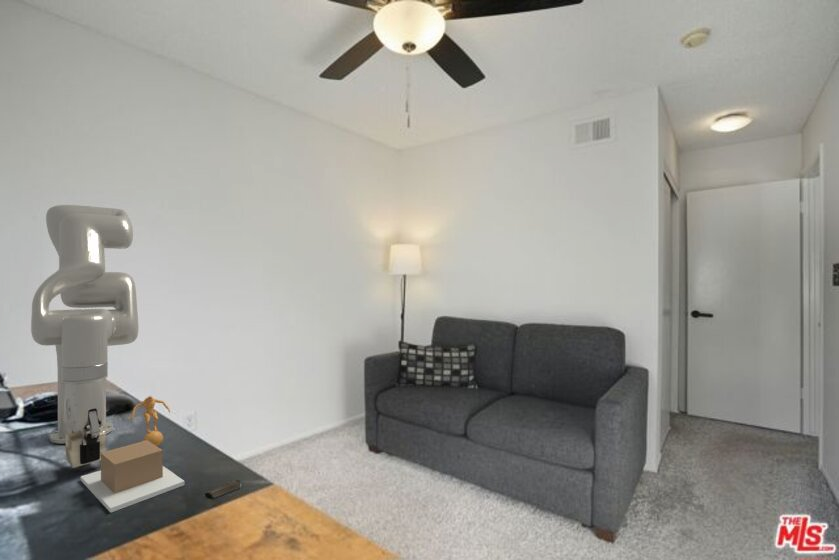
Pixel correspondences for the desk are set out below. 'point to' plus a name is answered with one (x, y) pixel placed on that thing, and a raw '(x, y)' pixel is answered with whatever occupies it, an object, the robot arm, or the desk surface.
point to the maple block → (74, 447)
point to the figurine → (149, 403)
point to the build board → (132, 492)
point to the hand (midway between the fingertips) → (85, 456)
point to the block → (224, 489)
